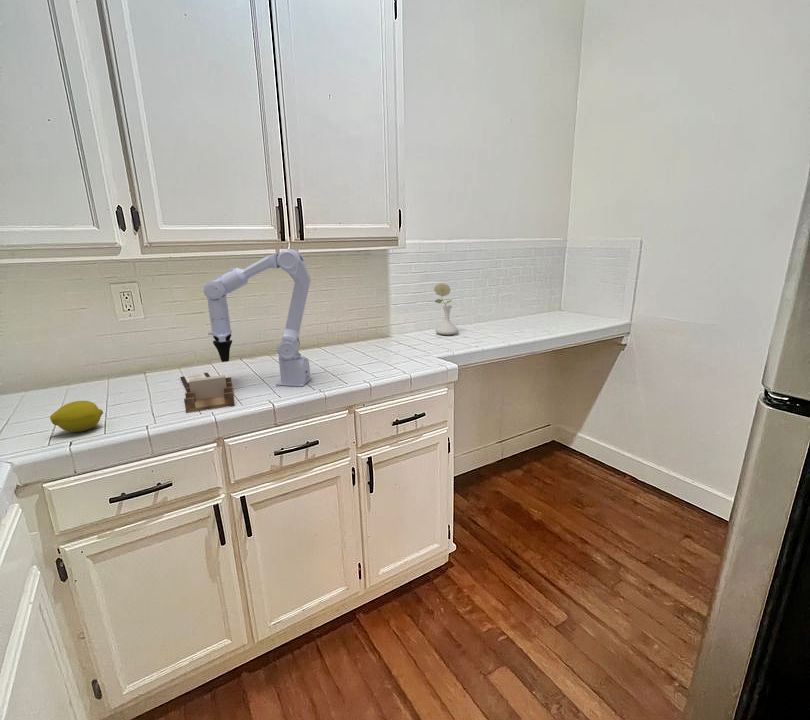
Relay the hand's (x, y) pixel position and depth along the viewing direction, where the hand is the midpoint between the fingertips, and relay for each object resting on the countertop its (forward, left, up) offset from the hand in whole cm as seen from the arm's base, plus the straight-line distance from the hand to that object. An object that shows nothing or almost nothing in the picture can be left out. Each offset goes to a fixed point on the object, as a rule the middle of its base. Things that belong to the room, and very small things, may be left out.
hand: (225, 358), depth 144 cm
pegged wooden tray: (-2, +13, -9) cm, 16 cm away
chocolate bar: (+12, -1, -10) cm, 16 cm away
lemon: (+19, +38, -10) cm, 44 cm away
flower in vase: (-65, -86, -10) cm, 108 cm away
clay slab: (-2, +13, -8) cm, 16 cm away
